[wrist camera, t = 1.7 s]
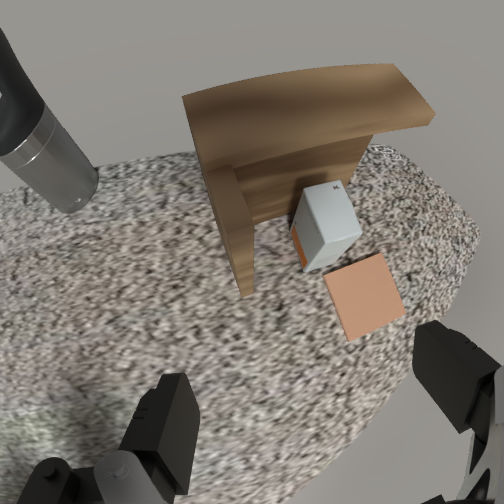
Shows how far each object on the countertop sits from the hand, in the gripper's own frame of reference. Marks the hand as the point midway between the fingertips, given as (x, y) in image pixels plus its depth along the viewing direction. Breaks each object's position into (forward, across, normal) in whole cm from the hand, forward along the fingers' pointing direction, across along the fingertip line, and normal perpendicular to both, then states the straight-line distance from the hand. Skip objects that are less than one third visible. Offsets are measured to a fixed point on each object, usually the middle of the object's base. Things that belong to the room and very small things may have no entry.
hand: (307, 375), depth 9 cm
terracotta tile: (+26, -12, +10) cm, 30 cm away
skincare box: (+30, -6, +3) cm, 30 cm away
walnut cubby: (+30, -5, +2) cm, 30 cm away
